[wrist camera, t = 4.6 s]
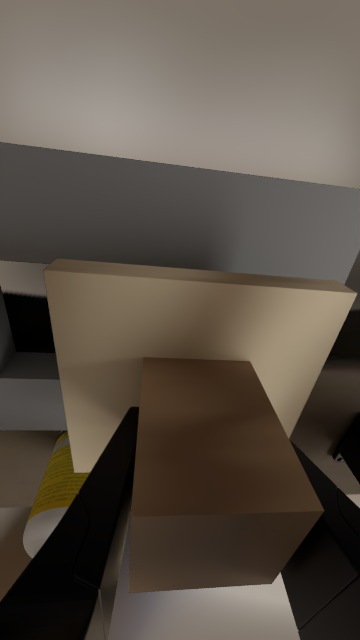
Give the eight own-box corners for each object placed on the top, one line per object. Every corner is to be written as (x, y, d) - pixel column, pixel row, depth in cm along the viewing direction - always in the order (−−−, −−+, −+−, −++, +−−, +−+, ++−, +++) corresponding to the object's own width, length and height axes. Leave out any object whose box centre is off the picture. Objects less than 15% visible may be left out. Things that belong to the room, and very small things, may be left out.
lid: (336, 280, 10) (556, 413, 4) (265, 449, 15) (329, 611, 9) (57, 258, 9) (-115, 401, 3) (80, 449, 13) (29, 635, 8)
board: (348, 189, 14) (385, 192, 12) (266, 404, 21) (279, 430, 19) (-74, 134, 11) (-129, 125, 9) (6, 400, 19) (-13, 430, 17)
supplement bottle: (45, 434, 21) (-28, 611, 13) (94, 403, 20) (49, 576, 11) (94, 463, 23) (59, 628, 15) (140, 437, 22) (131, 601, 14)
